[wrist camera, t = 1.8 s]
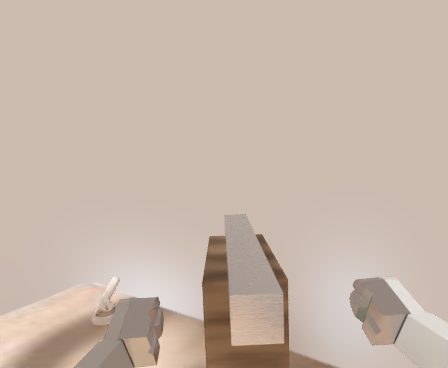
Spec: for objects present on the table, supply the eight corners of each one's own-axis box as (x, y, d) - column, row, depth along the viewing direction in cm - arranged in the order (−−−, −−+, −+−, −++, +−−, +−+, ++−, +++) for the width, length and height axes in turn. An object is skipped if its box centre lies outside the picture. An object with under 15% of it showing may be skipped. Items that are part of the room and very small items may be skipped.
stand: (291, 477, 31) (287, 279, 28) (211, 481, 30) (202, 283, 28) (265, 361, 48) (261, 234, 46) (215, 363, 48) (209, 236, 46)
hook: (141, 286, 70) (128, 282, 65) (120, 330, 66) (103, 331, 60) (122, 277, 73) (107, 273, 67) (100, 319, 69) (82, 319, 63)
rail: (284, 343, 18) (283, 293, 18) (231, 345, 18) (229, 295, 18) (246, 234, 46) (245, 214, 46) (225, 235, 46) (224, 215, 46)
